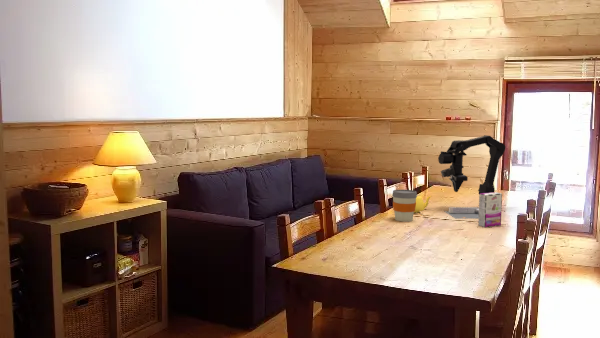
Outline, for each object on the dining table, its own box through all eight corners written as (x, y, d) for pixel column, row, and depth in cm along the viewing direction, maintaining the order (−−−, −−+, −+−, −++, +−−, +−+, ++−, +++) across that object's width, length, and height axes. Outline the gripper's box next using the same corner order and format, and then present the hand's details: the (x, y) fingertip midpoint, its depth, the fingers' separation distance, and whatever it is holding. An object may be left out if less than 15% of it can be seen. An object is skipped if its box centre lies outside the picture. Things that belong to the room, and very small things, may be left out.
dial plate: (479, 213, 319) (479, 211, 319) (493, 221, 299) (493, 218, 299) (443, 213, 318) (443, 211, 318) (455, 221, 298) (455, 218, 298)
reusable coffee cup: (400, 216, 309) (401, 188, 308) (420, 220, 300) (421, 191, 299) (386, 219, 301) (387, 191, 299) (406, 223, 292) (407, 194, 290)
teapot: (431, 212, 321) (432, 195, 320) (413, 214, 314) (414, 196, 313) (414, 208, 333) (415, 191, 332) (396, 210, 326) (397, 193, 325)
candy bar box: (493, 223, 294) (495, 191, 292) (501, 225, 289) (503, 193, 287) (477, 225, 289) (478, 193, 287) (484, 227, 284) (486, 194, 282)
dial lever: (480, 211, 315) (481, 206, 315) (484, 213, 310) (484, 208, 310) (447, 211, 314) (448, 206, 314) (450, 213, 309) (450, 208, 309)
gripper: (437, 161, 326) (436, 189, 328) (448, 165, 307) (446, 194, 309) (457, 161, 327) (455, 189, 328) (468, 165, 308) (467, 194, 310)
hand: (455, 191), depth 319 cm, fingers closed
